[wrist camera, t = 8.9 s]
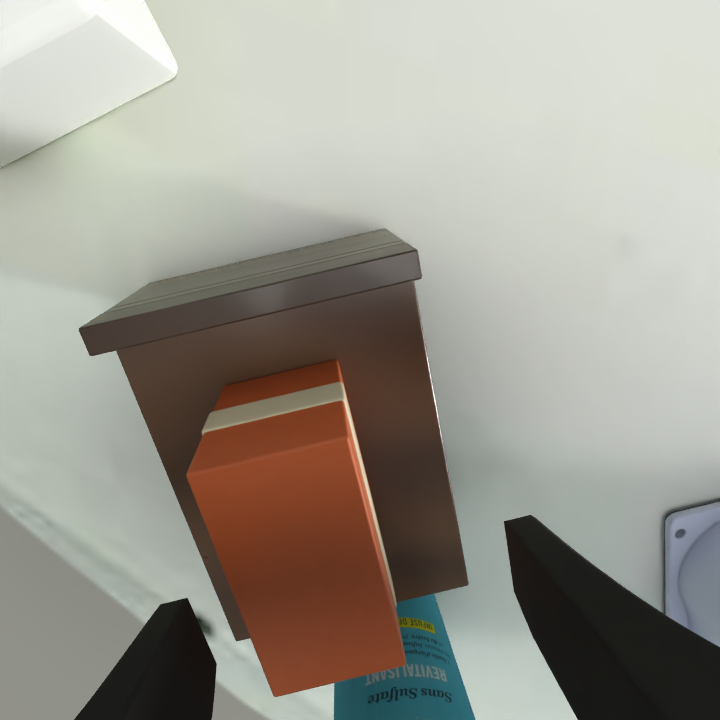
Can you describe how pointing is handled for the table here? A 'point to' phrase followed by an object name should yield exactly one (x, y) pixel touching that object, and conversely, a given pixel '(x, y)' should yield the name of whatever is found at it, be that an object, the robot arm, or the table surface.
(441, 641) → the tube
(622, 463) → the table surface
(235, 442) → the snack box
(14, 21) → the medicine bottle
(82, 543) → the table surface
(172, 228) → the table surface
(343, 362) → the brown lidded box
